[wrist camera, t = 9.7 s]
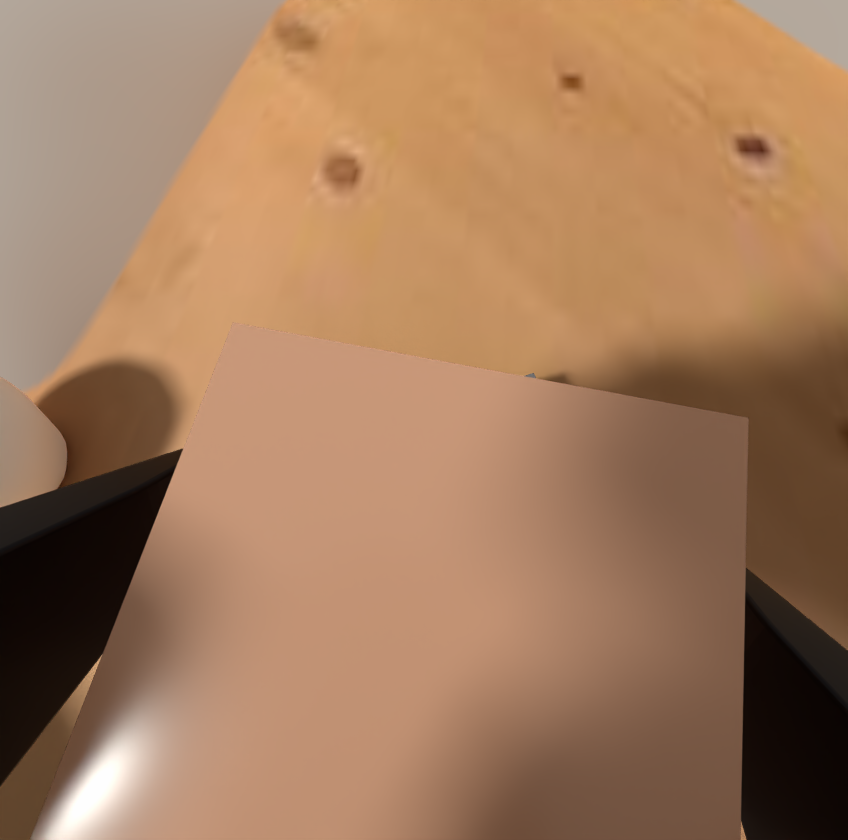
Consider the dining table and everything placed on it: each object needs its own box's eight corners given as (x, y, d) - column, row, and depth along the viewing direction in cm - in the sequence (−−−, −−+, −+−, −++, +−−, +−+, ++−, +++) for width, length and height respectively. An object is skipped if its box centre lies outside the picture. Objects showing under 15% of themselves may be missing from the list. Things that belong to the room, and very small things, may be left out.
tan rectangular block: (503, 677, 14) (732, 1228, 3) (346, 635, 15) (-7, 934, 3) (529, 513, 16) (747, 417, 4) (385, 481, 16) (233, 321, 5)
